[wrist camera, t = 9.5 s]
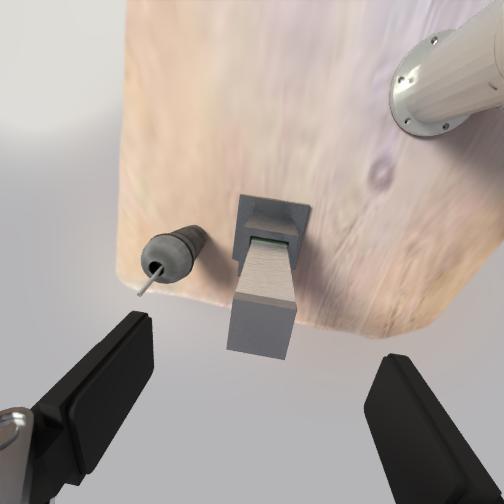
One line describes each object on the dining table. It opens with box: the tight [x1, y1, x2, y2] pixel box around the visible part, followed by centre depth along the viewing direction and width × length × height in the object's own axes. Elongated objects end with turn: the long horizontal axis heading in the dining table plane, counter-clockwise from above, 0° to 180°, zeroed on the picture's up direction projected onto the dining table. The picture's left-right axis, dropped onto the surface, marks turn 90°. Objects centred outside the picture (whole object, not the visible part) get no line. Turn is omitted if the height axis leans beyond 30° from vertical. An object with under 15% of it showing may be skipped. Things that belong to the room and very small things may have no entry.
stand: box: [232, 194, 310, 277], centre depth 37 cm, size 12×12×13 cm
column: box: [227, 236, 297, 360], centre depth 26 cm, size 4×4×20 cm
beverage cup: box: [137, 225, 206, 297], centre depth 35 cm, size 7×7×20 cm
